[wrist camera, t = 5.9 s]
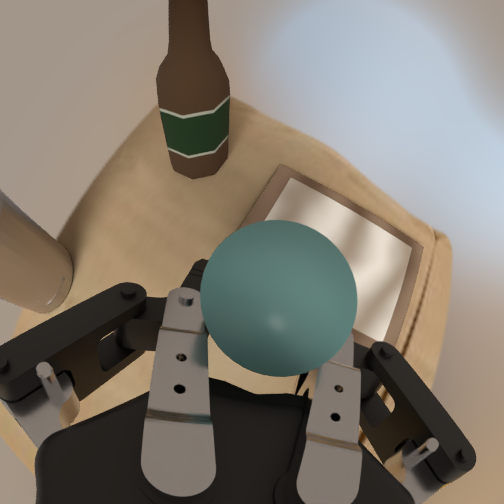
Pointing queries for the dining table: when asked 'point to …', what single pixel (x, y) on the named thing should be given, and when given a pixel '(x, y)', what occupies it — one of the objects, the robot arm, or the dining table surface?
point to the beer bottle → (193, 93)
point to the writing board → (351, 249)
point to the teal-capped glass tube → (278, 298)
